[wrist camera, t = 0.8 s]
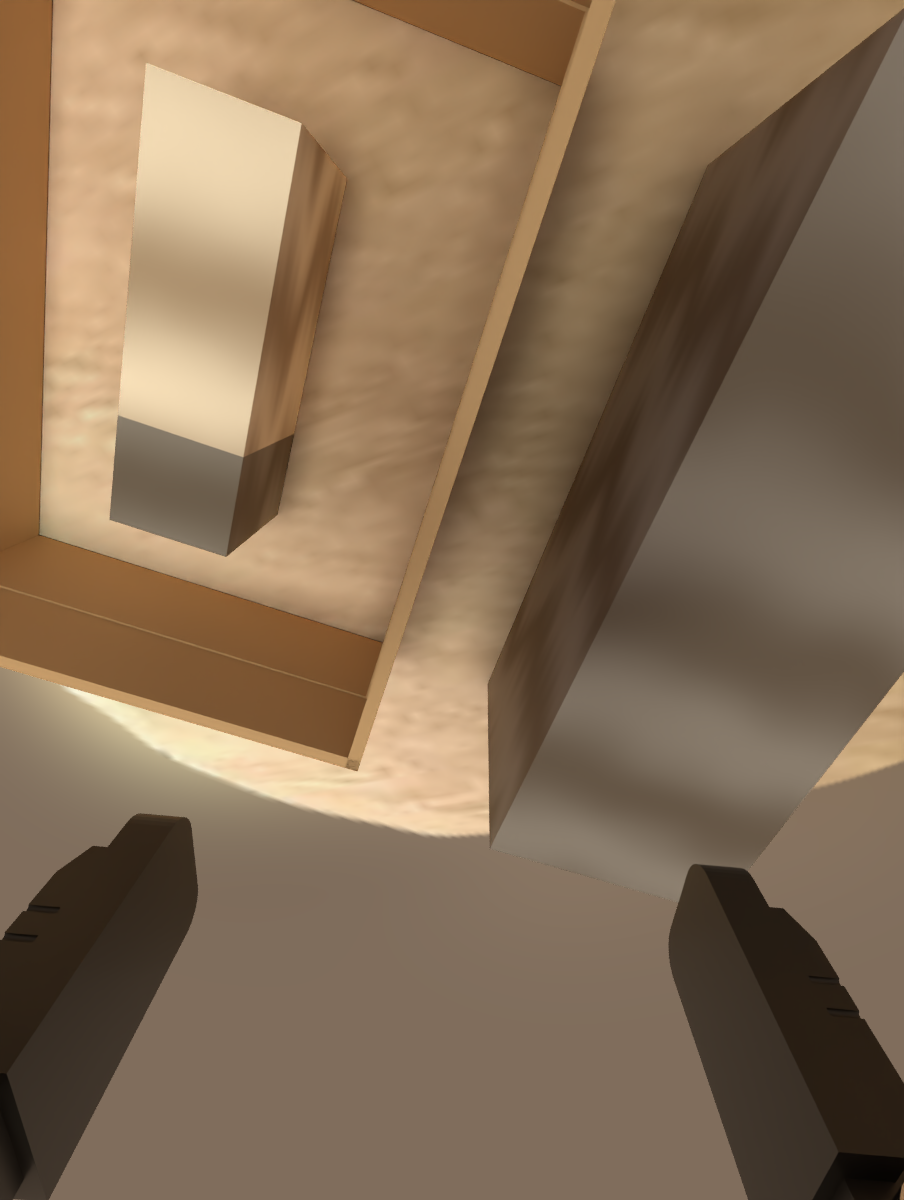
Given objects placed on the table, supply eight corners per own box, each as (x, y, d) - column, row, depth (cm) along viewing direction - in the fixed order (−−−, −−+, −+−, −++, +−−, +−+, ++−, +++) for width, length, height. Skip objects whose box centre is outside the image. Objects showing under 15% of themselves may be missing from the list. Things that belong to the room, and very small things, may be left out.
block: (232, 134, 21) (146, 62, 16) (347, 178, 22) (301, 123, 16) (185, 484, 27) (109, 519, 22) (277, 514, 27) (226, 556, 22)
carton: (24, -161, 19) (-341, -564, 10) (585, 72, 20) (654, -115, 12) (18, 539, 29) (-169, 617, 20) (391, 655, 30) (357, 771, 22)
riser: (708, 164, 21) (911, 1, 11) (921, 252, 22) (1293, 173, 12) (487, 684, 31) (489, 848, 21) (641, 732, 31) (714, 913, 21)
